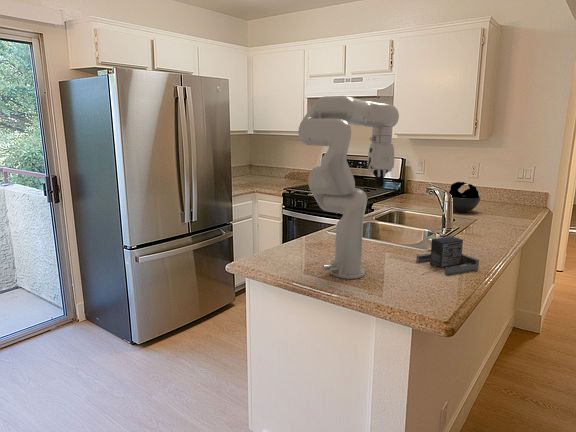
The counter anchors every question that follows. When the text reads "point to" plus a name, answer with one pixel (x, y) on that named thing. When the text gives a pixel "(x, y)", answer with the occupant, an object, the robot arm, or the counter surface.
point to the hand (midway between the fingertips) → (379, 186)
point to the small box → (446, 252)
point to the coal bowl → (464, 197)
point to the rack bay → (466, 266)
